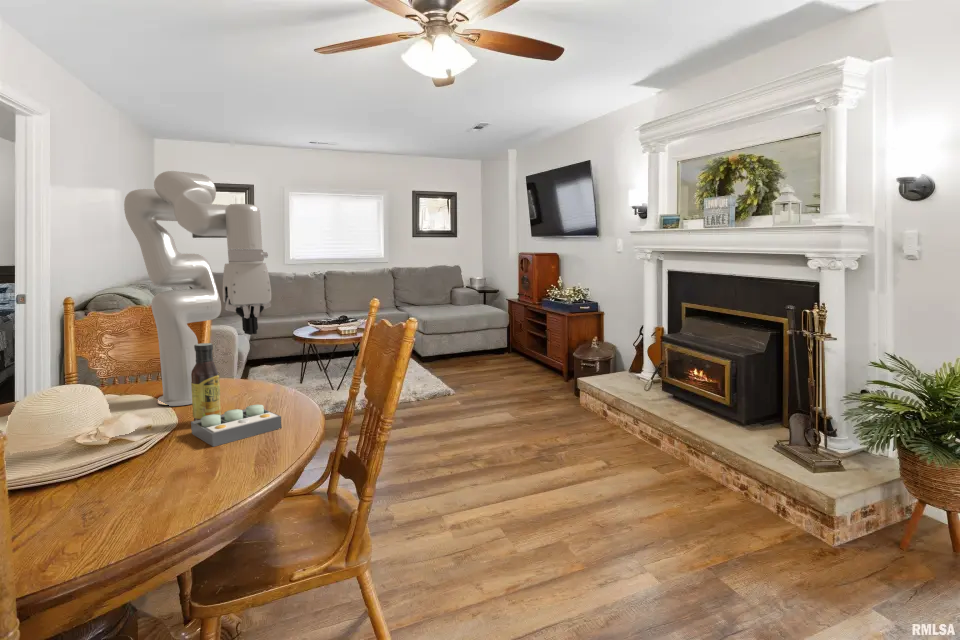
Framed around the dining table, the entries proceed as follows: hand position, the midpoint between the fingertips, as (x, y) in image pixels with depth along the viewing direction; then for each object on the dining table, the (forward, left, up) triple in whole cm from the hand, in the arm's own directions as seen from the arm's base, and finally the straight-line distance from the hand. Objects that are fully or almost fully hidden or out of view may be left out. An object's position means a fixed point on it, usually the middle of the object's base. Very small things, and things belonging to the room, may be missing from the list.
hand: (250, 333), depth 127 cm
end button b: (0, 0, -21) cm, 21 cm away
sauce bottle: (-11, -7, -23) cm, 26 cm away
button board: (+1, -5, -23) cm, 23 cm away
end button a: (0, -10, -21) cm, 24 cm away
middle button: (0, -5, -21) cm, 22 cm away
